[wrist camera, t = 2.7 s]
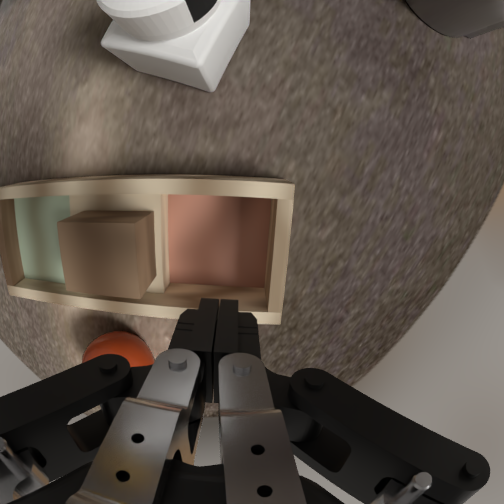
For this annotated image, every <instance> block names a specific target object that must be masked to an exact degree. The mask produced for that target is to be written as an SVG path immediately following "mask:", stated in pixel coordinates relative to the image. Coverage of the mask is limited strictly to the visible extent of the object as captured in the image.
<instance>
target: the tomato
mask: <svg viewBox="0 0 504 504" xmlns="http://www.w3.org/2000/svg"><path fill="white" fill-rule="evenodd" d="M104 354H118V355H121V356H123V357H125V358H126V359H127V360H128V361H129V363H130V367H137V366H147V365H151V364H154V362H155V359H154V357H153V354H152V352H151V350H150V348H149V346H148V345H147V344H146V343H145V342H144V341H143V340H142V339H140V338H139V337H138V336H136V335H134V334H132V333H129V332H125V331H114V332H108V333H105V334H103V335H101V336H99V337H97V338H96V339H94V340H93V341H92V342H91V343H89V345H88V346H87V348H86V350H85V352H84V354H83V357H82V363H84V362H86V361H88V360H91V359H93V358H95V357H97V356H100V355H104Z"/></svg>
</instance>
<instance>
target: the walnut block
mask: <svg viewBox="0 0 504 504" xmlns="http://www.w3.org/2000/svg"><path fill="white" fill-rule="evenodd" d="M57 229H58V238H59V247H60V254H61V261H62V267H63V273H64V279H65V284H66V290H67V291H72V292H79V293H87V294H95V295H104V296H112V297H122V298H131V299H141V298H142V296H143V295H144V293H145V292H146V290H147V289H148V287H149V286H150V284H151V283H152V282H153V280H154V279H155V277H156V276H157V274H156V256H155V231H154V211H101V210H88V211H82V212H80V213H77V214H75V215H73V216H70V217H68V218H65V219H63V220H61V221H58V222H57Z"/></svg>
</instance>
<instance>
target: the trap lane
mask: <svg viewBox="0 0 504 504" xmlns="http://www.w3.org/2000/svg"><path fill="white" fill-rule="evenodd" d="M294 188H295V184H293V183H291V182H290V181H288V180H286V179H277V178H262V177H245V176H223V175H185V174H146V175H108V176H88V177H72V178H58V179H47V180H36V181H27V182H20V183H16V184H11V185H7V186H3V187H0V253H1V259H2V264H3V269H4V273H5V278H6V282H7V286H8V290H9V294H10V295H13V296H18V297H22V298H27V299H33V300H38V301H43V302H49V303H54V304H60V305H66V306H73V307H79V308H86V309H93V310H100V311H107V312H115V313H123V314H131V315H140V316H150V317H160V318H171V319H179V316H180V314H182V313H183V312H184V311H185V310H187V309H198V308H199V304H200V300H201V298H215V299H219V307H220V300H221V299H233V300H238V312H251V313H252V314H253V315H254V316H255V317H256V319H257V324H280V323H281V315H282V306H283V298H284V289H285V281H286V272H287V262H288V253H289V243H290V233H291V222H292V211H293V200H294ZM88 210H101V211H154V231H155V256H156V274H157V276H156V277H155V279H154V280H153V282H152V283H151V284H150V286H149V287H148V289H147V290H146V292H145V293H144V295H143V296H142V298H141V299H131V298H122V297H112V296H104V295H95V294H87V293H79V292H72V291H67V290H66V284H65V279H64V273H63V267H62V261H61V254H60V247H59V238H58V229H57V222H58V221H61V220H63V219H65V218H68V217H70V216H73V215H75V214H77V213H80V212H82V211H88Z"/></svg>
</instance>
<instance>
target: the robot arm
mask: <svg viewBox="0 0 504 504" xmlns="http://www.w3.org/2000/svg"><path fill="white" fill-rule="evenodd" d="M406 2H407V3H408V4H409V6H410V7H411V8H412V10H413V11H414V12H415V13H416V14H417V15H418V16H419V17H420V18H421V19H422V20H423V21H424V22H425V23H426V24H428V25H429V26H430V27H431V28H433V29H435V30H436V31H438V32H439V33H441V34H444V35H446V36H449V37H457V38H458V37H461V36H466V37H468V38H470V39H471V38H473V37H476V36H479V35H482V34H485V33H487V32H490V31H493V30H496V29H499V28H502V27H504V0H406ZM213 389H214V403H219V440H220V458H221V464H218V465H211V466H201V467H199V466H194V459H195V454H196V449H197V445H198V440H199V436H200V431H201V426H202V422H203V413H204V410H205V402H208V403H212V400H213ZM98 405H100V407H101V410H99V411H97V412H95V413H93V414H91V415H89V416H87V417H85V418H83V419H81V420H79V421H77V422H75V423H73V424H71V425H67V424H68V422H69V421H70V420H71V419H72V418H73V417H76V416H78V415H80V414H82V413H84V412H86V411H88V410H90V409H92V408H94V407H96V406H98ZM293 454H294V455H295V456H297V457H298V458H299V459H300V460H302V461H303V462H304V463H306V464H307V465H308V466H309V467H311V468H312V469H314V470H315V471H316V472H318V473H319V474H321V475H322V476H323V477H325V478H326V479H328V480H329V481H330V482H332V483H333V484H335V485H336V486H338V487H339V488H341V489H342V490H344V491H345V492H347V493H348V494H350V495H351V496H353V497H355V498H356V499H358V500H359V501H361V502H362V503H364V504H463V503H464V502H465V501H467V500H468V499H469V498H470V497H471V496H473V495H474V494H475V493H476V492H477V491H479V490H480V489H481V488H482V487H483V486H484V485H485V484H486V483H487V481H488V479H489V477H490V467H489V464H488V462H487V460H486V459H485V458H484V457H483V456H482V455H481V454H479V453H477V452H475V451H473V450H471V449H469V448H466V447H464V446H462V445H460V444H458V443H456V442H453V441H452V440H450V439H447V438H445V437H443V436H441V435H439V434H437V433H435V432H433V431H431V430H429V429H427V428H425V427H423V426H422V425H420V424H418V423H416V422H414V421H412V420H410V419H408V418H406V417H404V416H402V415H401V414H399V413H397V412H395V411H393V410H391V409H390V408H388V407H386V406H384V405H382V404H381V403H379V402H377V401H375V400H374V399H372V398H370V397H368V396H367V395H365V394H363V393H361V392H360V391H358V390H356V389H354V388H353V387H351V386H349V385H348V384H346V383H344V382H343V381H341V380H339V379H338V378H336V377H334V376H333V375H331V374H329V373H328V372H326V371H323V370H320V369H316V368H305V369H301V370H298V371H297V372H295V373H294V374H293V375H292V377H287V376H283V375H279V374H276V373H273V372H271V371H270V370H268V369H267V368H266V367H265V366H264V363H263V362H262V361H261V354H260V344H259V335H258V324H257V319H256V317H255V316H254V315H253V314H252V313H251V312H238V300H233V299H221V300H220V307H219V299H215V298H201V300H200V304H199V308H198V309H187V310H185V311H184V312H183V313H182V314H180V316H179V319H178V322H177V325H176V328H175V331H174V333H173V336H172V339H171V342H170V345H169V348H168V350H166V351H164V352H162V353H161V354H159V355H158V356H157V358H156V360H155V362H154V364H151V365H147V366H137V367H130V363H129V361H128V360H127V359H126V358H125V357H123V356H121V355H118V354H104V355H100V356H97V357H95V358H93V359H91V360H88V361H86V362H84V363H81V364H79V365H77V366H75V367H72V368H70V369H68V370H65V371H63V372H60V373H58V374H56V375H53V376H51V377H49V378H46V379H44V380H41V381H39V382H37V383H34V384H32V385H29V386H27V387H25V388H22V389H20V390H17V391H14V392H12V393H9V394H7V395H5V396H2V397H0V504H344V503H343V502H341V501H340V500H339V499H337V498H336V497H335V496H333V495H332V494H331V493H329V492H328V491H326V490H325V489H324V488H322V487H321V486H320V485H318V484H317V483H315V482H313V481H312V480H309V479H307V478H305V477H303V476H299V474H298V470H297V467H296V463H295V459H294V455H293ZM60 477H61V478H60ZM58 478H59V479H58ZM56 479H57V480H56ZM53 480H55V481H53ZM51 481H53V482H51ZM49 482H51V483H49Z"/></svg>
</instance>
